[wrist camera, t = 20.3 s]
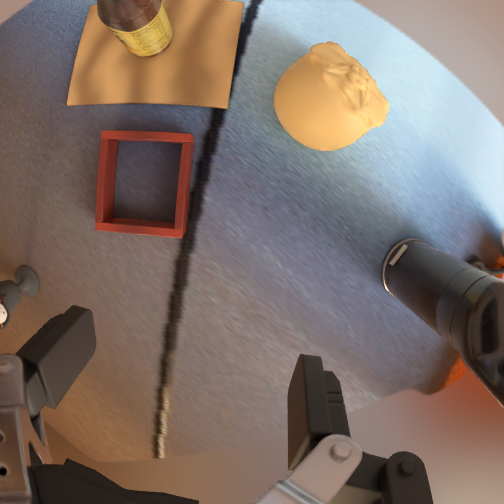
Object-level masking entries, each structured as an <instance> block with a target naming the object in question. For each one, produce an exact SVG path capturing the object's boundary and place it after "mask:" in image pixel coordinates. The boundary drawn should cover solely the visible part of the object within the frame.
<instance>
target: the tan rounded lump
mask: <svg viewBox="0 0 504 504" xmlns="http://www.w3.org/2000/svg"><path fill="white" fill-rule="evenodd" d="M274 108H275V112H276V114H277V117H278V119H279V121H280V123H281V124H282V126H283V127H284V129H285V130H286V131H287V132H288V133H289V134H290V135H291V136H292V137H293V138H294V139H295V140H297V141H298V142H299V143H301V144H303V145H305V146H307V147H309V148H312V149H315V150H320V151H333V150H338V149H341V148H344V147H346V146H348V145H350V144H352V143H353V142H355V141H356V140H358V139H359V138H360V137H362V136H363V135H364V134H366V133H367V132H368V131H369V130H370V129H371V128H372V127H379V126H381V125H382V124H383V123H384V122H385V119H386V116H387V112H388V110H389V104H388V101H387V100H386V98H385V97H384V96H383V95H382V93H381V92H380V91H379V89H378V88H377V85H376V82H375V81H374V79H373V78H372V77H371V76H370V75H369V74H368V71H367V70H366V69H365V68H364V67H362V66H361V64H360V63H359V62H358V61H357V60H356V59H355V58H353V57H351V56H349V55H348V54H347V53H346V52H345V51H344V50H343V48H342V47H341V46H339V45H338V44H337V43H334V42H326V43H319V44H316V45H314V46H313V47H312V48H311V49H310V52H309V53H307V54H305V55H304V56H302V57H301V58H299V59H298V60H297V61H296V62H295V63H294V64H293V65H291V66H290V67H289V68H288V69H287V70H286V71H285V72H284V73H283V75H282V76H281V78H280V79H279V81H278V83H277V85H276V88H275V92H274Z"/></svg>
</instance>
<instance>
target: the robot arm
mask: <svg viewBox="0 0 504 504" xmlns="http://www.w3.org/2000/svg"><path fill="white" fill-rule="evenodd" d="M476 264H478V265H479V266H480V268H481V269H479V268H477V267H475V266H474V265H476ZM502 273H504V267H503V268H502V269H489V268H486V267H485V265H484V263H483V262H482V261H481V260H480V259H474V260H472V261H470V262H469V263H467V262H465V261H463V260H461V259H459V258H457V257H454V256H452V255H450V254H448V253H446V252H444V251H441V250H439V249H437V248H435V247H433V246H431V245H428V244H426V243H425V242H423V241H421V240H419V239H416V238H407V239H404V240H401V241H399V242H398V243H396V244H395V245H394V246H393V247H392V248H391V249H390V251H389V252H388V253H387V255H386V257H385V259H384V262H383V265H382V272H381V276H382V282H383V285H384V287H385V289H386V290H387V291H388V292H389V293H390V294H391V295H393V296H394V297H396V298H397V299H398V300H400V301H401V302H402V303H403V304H404V305H405V306H406V307H408V308H409V309H410V310H411V311H412V312H414V313H415V314H416V315H417V316H418V317H420V318H421V319H422V320H423V321H424V322H425V323H427V324H428V325H429V326H430V327H431V328H432V329H433V330H435V331H436V332H437V333H438V334H439V335H440V336H441V337H443V338H444V339H445V340H446V341H447V342H448V343H450V344H451V345H452V346H453V347H454V348H455V349H456V350H457V351H458V352H459V353H460V356H461V359H462V361H463V362H464V364H465V365H466V366H467V367H468V368H469V370H470V371H471V372H472V373H473V374H474V375H475V376H476V377H477V378H478V379H479V380H480V381H481V383H482V384H483V385H484V386H485V387H486V388H487V389H488V391H489V392H490V393H491V394H492V395H493V396H494V398H495V399H496V400H497V401H498V402H499V403H500V404H501V405H502V407H504V281H503V280H501V279H499V278H498V277H496V276H494V275H492V274H502ZM95 349H96V336H95V329H94V321H93V314H92V311H91V310H90V309H86V308H83V307H79V306H76V305H73V306H71V307H70V308H69V309H68V310H67V311H66V312H65V313H64V314H59V315H57V316H55V317H53V318H51V319H50V320H49V321H48V322H46V323H45V324H44V325H43V328H40V329H39V330H38V331H37V334H34V335H33V336H32V337H31V338H30V339H29V340H28V341H27V342H26V344H25V345H24V346H23V347H22V348H21V349H20V350H19V351H18V352H17V353H16V354H12V353H4V354H1V355H0V504H199V501H198V500H193V499H188V498H184V497H179V496H175V495H171V494H167V493H162V492H146V491H134V490H127V489H124V488H122V487H120V486H119V485H117V484H116V483H114V482H113V481H111V480H109V479H108V478H106V477H105V476H103V475H102V474H100V473H99V472H97V471H96V470H93V469H91V468H89V467H86V466H84V465H82V464H79V463H77V462H75V461H72V460H70V459H68V458H67V459H66V461H65V463H64V465H59V464H54V463H53V461H52V458H51V456H50V453H49V448H48V444H47V438H46V432H45V426H44V419H43V413H42V411H41V409H42V408H43V406H44V405H46V406H48V407H50V408H52V409H54V410H55V409H56V407H57V406H58V404H59V403H60V401H61V400H62V398H63V397H64V395H65V394H66V393H67V391H68V390H69V388H70V387H71V385H72V384H73V382H74V381H75V380H76V378H77V377H78V375H79V374H80V373H81V371H82V370H83V368H84V367H85V366H86V364H87V363H88V361H89V360H90V359H91V357H92V356H93V354H94V352H95ZM343 402H344V400H343V395H342V390H341V385H340V381H339V380H338V379H337V377H336V376H335V374H334V373H333V372H332V371H323V365H322V359H321V357H320V356H312V355H304V354H300V355H299V358H298V361H297V364H296V367H295V370H294V373H293V376H292V379H291V382H290V385H289V390H288V470H293V471H292V472H291V473H290V474H289V475H288V476H287V477H286V478H285V479H283V480H282V481H278V482H276V483H275V484H274V485H273V486H272V487H270V488H269V489H268V490H267V491H266V492H265V493H264V494H263V495H262V496H261V497H259V498H258V499H257V500H256V501H254V502H253V503H252V504H433V500H432V495H431V490H430V486H429V482H428V478H427V473H426V469H425V466H424V463H423V462H422V460H421V459H420V458H419V457H418V456H416V455H415V454H413V453H410V452H405V451H402V452H397V453H395V454H393V455H392V456H391V457H390V458H389V459H386V458H382V457H378V456H374V455H371V454H367V453H365V452H363V451H362V450H361V447H360V446H359V444H358V443H357V442H356V441H355V440H353V439H352V438H351V436H350V432H349V427H348V420H347V415H346V410H345V405H344V404H343Z"/></svg>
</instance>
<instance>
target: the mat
mask: <svg viewBox="0 0 504 504" xmlns="http://www.w3.org/2000/svg"><path fill="white" fill-rule="evenodd" d="M162 1H163V4H164V6H165V9H166V11H167V14H168V17H169V19H170V22H171V24H172V29H173V37H172V42H171V44H170V46H169V47H168V48H167V49H166V50H165V51H164V52H162V53H160V54H159V55H156V56H154V57H150V58H149V57H140V56H136V55H134V54H133V53H131V52H130V51H129V50H128V49H127V48H126V47H125V46H124V45H123V44H122V43H121V42H120V40H118V38H117V37H116V36H115V35H114V34H113V33H112V32H111V31H110V30H109V29H108V28H107V27H106V26H105V25H104V24H103V22H102V21H101V20H100V19H99V17H98V12H97V4H96V5H91V7H90V10H89V13H88V16H87V19H86V23H85V26H84V30H83V33H82V37H81V40H80V44H79V48H78V52H77V56H76V60H75V64H74V69H73V73H72V78H71V83H70V88H69V94H68V100H67V105H68V106H74V105H93V104H166V105H186V106H201V107H213V108H224V109H228V103H229V96H230V89H231V82H232V75H233V69H234V62H235V56H236V49H237V43H238V37H239V31H240V25H241V19H242V13H243V7H244V2H238V1H227V0H162Z"/></svg>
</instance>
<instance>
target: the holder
mask: <svg viewBox="0 0 504 504" xmlns="http://www.w3.org/2000/svg"><path fill="white" fill-rule="evenodd" d="M119 141H135V142H158V143H175V144H182V151H181V160H180V169H179V179H178V189H177V200H176V212H175V223H173V222H162V221H150V220H139V219H127V218H114V217H113V209H114V191H115V177H116V165H117V154H118V145H119ZM194 145H195V136H194V135H193V134H188V133H172V132H152V131H102V135H101V143H100V153H99V163H98V176H97V191H96V216H95V230H100V231H111V232H122V233H133V234H144V235H154V236H165V237H176V238H182V237H183V235H184V234H185V232H186V226H187V224H186V223H187V213H188V202H189V192H190V182H191V172H192V163H193V154H194Z"/></svg>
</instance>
